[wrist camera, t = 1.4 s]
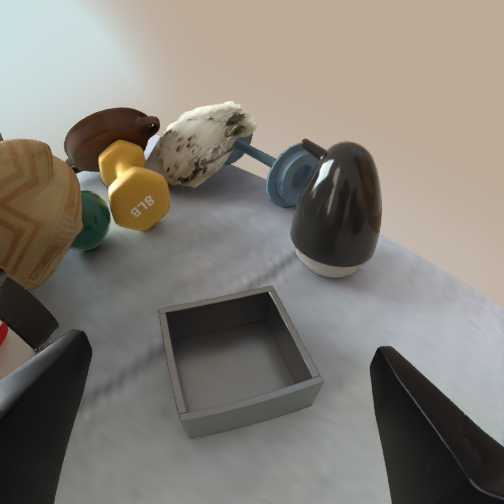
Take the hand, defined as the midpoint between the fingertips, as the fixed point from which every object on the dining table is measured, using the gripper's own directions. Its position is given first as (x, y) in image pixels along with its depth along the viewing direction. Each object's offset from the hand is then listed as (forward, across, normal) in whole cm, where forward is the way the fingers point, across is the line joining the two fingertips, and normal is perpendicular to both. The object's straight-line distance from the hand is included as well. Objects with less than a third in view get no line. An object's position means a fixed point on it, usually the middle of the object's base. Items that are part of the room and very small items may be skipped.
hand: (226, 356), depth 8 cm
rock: (+42, +14, +9) cm, 46 cm away
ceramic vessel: (+23, +23, +6) cm, 33 cm away
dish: (+47, +26, +3) cm, 54 cm away
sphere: (+24, +24, +6) cm, 34 cm away
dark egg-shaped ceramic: (+26, -10, +12) cm, 30 cm away
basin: (+11, 0, +14) cm, 18 cm away
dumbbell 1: (+35, +20, +2) cm, 41 cm away
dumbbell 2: (+44, 0, -2) cm, 44 cm away
